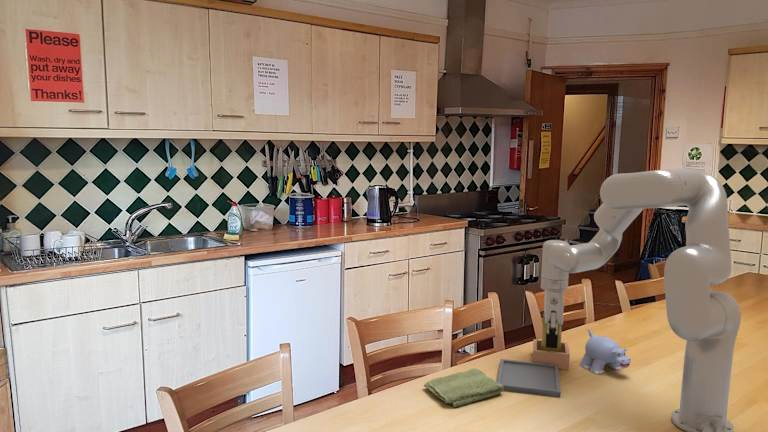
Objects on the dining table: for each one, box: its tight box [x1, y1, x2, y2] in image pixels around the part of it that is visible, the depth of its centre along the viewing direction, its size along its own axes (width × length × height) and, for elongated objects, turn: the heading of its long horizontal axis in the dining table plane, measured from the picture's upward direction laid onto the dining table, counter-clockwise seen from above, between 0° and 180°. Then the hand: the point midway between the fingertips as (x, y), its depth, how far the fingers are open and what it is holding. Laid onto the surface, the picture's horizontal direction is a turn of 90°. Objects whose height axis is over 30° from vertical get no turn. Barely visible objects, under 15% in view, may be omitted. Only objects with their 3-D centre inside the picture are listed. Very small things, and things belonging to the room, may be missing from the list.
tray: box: [496, 358, 562, 398], centre depth 159 cm, size 18×16×2 cm
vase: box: [541, 312, 563, 352], centre depth 171 cm, size 6×6×14 cm
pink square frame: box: [532, 338, 570, 371], centre depth 172 cm, size 10×10×4 cm
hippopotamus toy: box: [579, 329, 631, 375], centre depth 167 cm, size 11×15×10 cm
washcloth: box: [423, 367, 504, 408], centre depth 151 cm, size 13×18×3 cm
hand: (551, 343), depth 172 cm, fingers closed on vase, 5 cm apart
